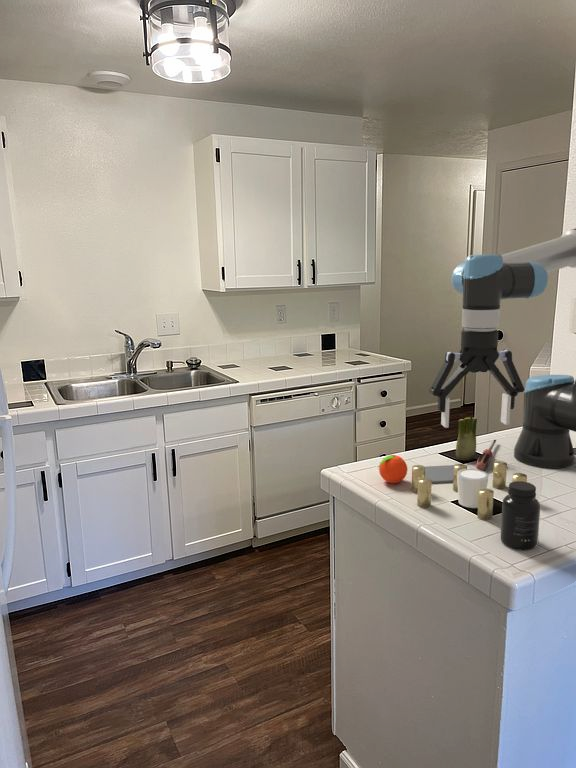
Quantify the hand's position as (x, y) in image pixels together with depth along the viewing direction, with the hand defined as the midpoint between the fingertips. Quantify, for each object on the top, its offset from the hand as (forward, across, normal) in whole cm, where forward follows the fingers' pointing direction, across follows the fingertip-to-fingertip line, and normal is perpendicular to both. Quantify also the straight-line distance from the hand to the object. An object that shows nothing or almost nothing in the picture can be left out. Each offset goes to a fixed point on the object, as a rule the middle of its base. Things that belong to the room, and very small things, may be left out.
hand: (474, 424), depth 127 cm
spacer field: (+18, 0, 0) cm, 19 cm away
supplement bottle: (+19, -2, +19) cm, 27 cm away
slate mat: (+18, +1, -17) cm, 25 cm away
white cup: (+19, 0, 0) cm, 19 cm away
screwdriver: (+19, -16, -28) cm, 38 cm away
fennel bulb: (+19, -9, -27) cm, 34 cm away
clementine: (+19, +15, -14) cm, 28 cm away
